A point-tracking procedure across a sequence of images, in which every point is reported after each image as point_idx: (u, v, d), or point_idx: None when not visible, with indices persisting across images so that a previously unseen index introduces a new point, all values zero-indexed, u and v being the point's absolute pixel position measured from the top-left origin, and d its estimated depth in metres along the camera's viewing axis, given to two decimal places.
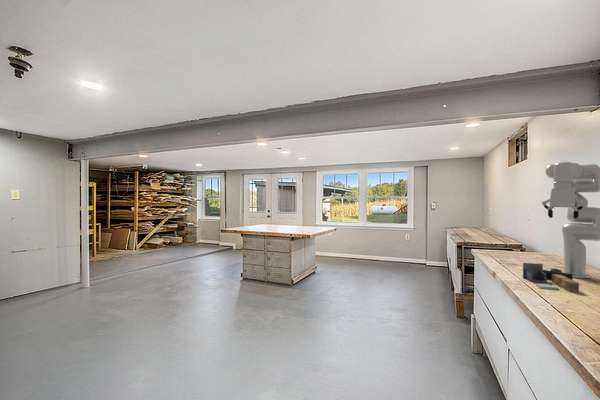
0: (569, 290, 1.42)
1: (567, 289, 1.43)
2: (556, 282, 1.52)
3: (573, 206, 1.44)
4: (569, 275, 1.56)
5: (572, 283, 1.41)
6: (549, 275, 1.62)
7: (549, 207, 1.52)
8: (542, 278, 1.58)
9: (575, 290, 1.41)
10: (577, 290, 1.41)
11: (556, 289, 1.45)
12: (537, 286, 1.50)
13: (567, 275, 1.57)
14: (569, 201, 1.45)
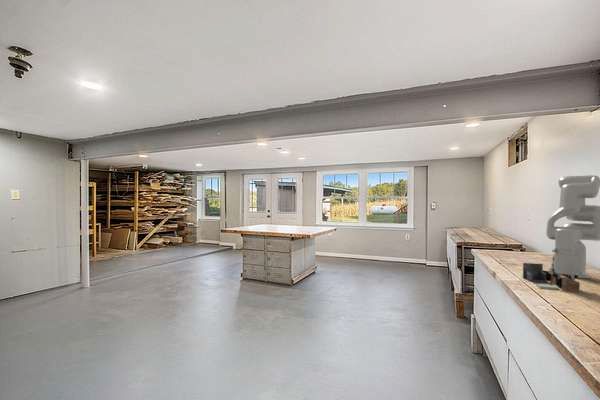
0: (570, 290, 1.41)
1: (568, 289, 1.42)
2: None
3: None
4: (568, 276, 1.55)
5: (573, 283, 1.41)
6: (548, 276, 1.61)
7: (570, 275, 1.49)
8: (542, 278, 1.58)
9: (576, 290, 1.41)
10: (578, 290, 1.40)
11: (556, 289, 1.45)
12: (537, 286, 1.50)
13: (566, 276, 1.55)
14: None
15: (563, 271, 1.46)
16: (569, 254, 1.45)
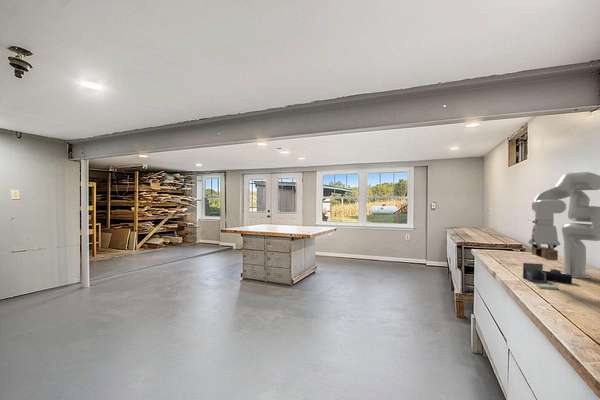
0: (549, 258, 1.46)
1: (547, 257, 1.47)
2: None
3: None
4: (568, 276, 1.55)
5: (551, 251, 1.46)
6: (548, 276, 1.60)
7: None
8: (542, 278, 1.58)
9: (554, 258, 1.45)
10: (556, 258, 1.45)
11: (556, 289, 1.45)
12: (537, 286, 1.50)
13: (566, 276, 1.55)
14: None
15: (542, 241, 1.51)
16: (548, 224, 1.49)
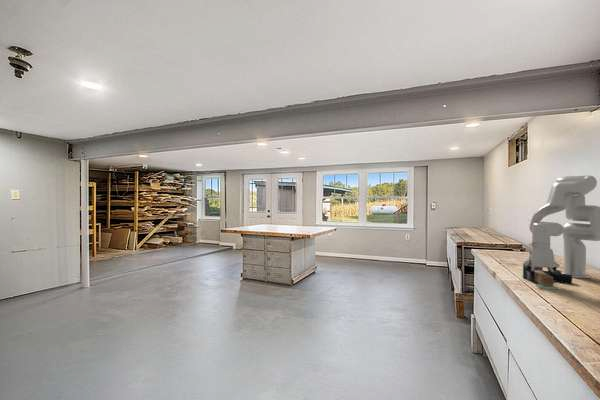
0: (544, 284, 1.47)
1: (542, 283, 1.48)
2: None
3: None
4: (568, 276, 1.54)
5: (547, 277, 1.47)
6: None
7: (549, 268, 1.54)
8: None
9: (550, 284, 1.46)
10: (552, 284, 1.46)
11: (556, 289, 1.45)
12: (537, 286, 1.50)
13: (566, 276, 1.55)
14: None
15: (539, 264, 1.52)
16: (545, 247, 1.50)
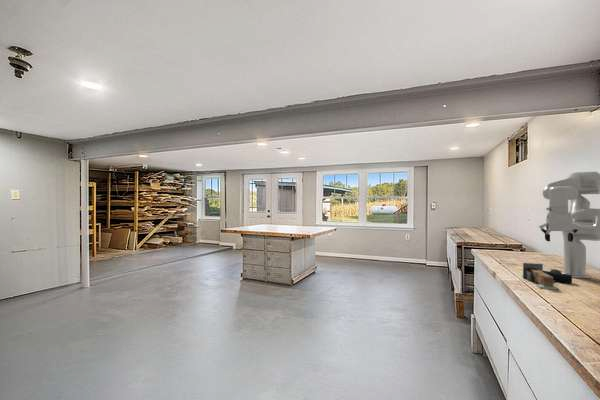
0: (544, 284, 1.47)
1: (542, 283, 1.48)
2: (533, 276, 1.58)
3: None
4: (568, 276, 1.54)
5: (547, 277, 1.47)
6: None
7: (569, 230, 1.53)
8: None
9: (550, 284, 1.46)
10: (552, 284, 1.46)
11: (556, 289, 1.45)
12: (537, 286, 1.50)
13: (566, 276, 1.55)
14: None
15: (557, 228, 1.51)
16: (562, 211, 1.49)
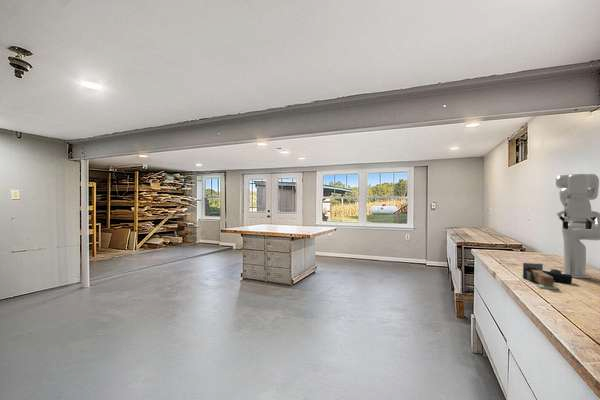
0: (544, 284, 1.47)
1: (542, 283, 1.48)
2: (533, 276, 1.58)
3: None
4: (568, 276, 1.54)
5: (547, 277, 1.47)
6: None
7: None
8: None
9: (550, 284, 1.46)
10: (552, 284, 1.46)
11: (556, 289, 1.45)
12: (537, 286, 1.50)
13: (566, 276, 1.55)
14: None
15: (575, 215, 1.49)
16: (582, 198, 1.48)
